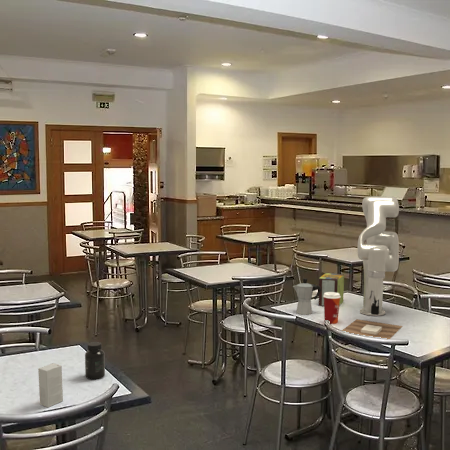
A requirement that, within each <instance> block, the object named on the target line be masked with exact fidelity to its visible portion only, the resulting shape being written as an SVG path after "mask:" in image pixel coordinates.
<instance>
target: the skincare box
mask: <svg viewBox="0 0 450 450" xmlns="http://www.w3.org/2000/svg"><path fill="white" fill-rule="evenodd" d="M37 369H38V386H39V387H38V389H39V390H38V391H39V404H40V406H43V407H45V408H50V407H53V406H55V405H57V404H59V403H61V402H63V401H64V395H63V390H64V389H63V371H62V365H61V364H57V363H54V362H53V363H50V364H47V365H44V366H41V367H39V368H37Z"/></svg>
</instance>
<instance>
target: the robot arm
mask: <svg viewBox="0 0 450 450" xmlns="http://www.w3.org/2000/svg"><path fill="white" fill-rule="evenodd" d="M361 207H362V211H363V215H364V218H365V220H366V228H364V229H363V230H362V232H361V233H360V234H359V237H358V239H357V251H356V252H357V253H356V254H357V258H358V259H359V260H361V261H362V265H363V303H362V305H363V307H362V308H360V309H359V312H360V314H361V315H366V316H371V317H373V316H374V317H379V316H381V317H382V316H384V315H386V311H385V310H384V309H383V296H384V279H386V272H390V273H391V272H396V271H397V270H398V269H399V264H400V263H399V262H400V258H399V254H400V244H399V243H400V242H399V241H400V239H399V235H398V233H397V232H395V231H386V229H387V218H397V217H398V216H399V213H400V204H399V200H398V198H397V197H395V196H377V195H375V196H366V197H364V198H363V199H362V205H361ZM365 242H366V243H365Z"/></svg>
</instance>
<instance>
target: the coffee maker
mask: <svg viewBox="0 0 450 450" xmlns="http://www.w3.org/2000/svg"><path fill="white" fill-rule="evenodd" d="M302 281H303V282H302V283H301V282H300V283H298V284H296V285H293V286H292V288H293V289H294V290H295V292H296V295H297V296H296V297H297V306H296V314H297V315H301V316H309V315H313V309H312V300H311V299H314V300H315V301H316V300H317V298H319V294H320V292H321V291H322V289H321V287H320V286H319V285H316V283H315V284H314V283H313V284H311V283H308V278H306V277H304V278H302ZM317 290H318V292H317V293H316V295H315V296H314V297H313V292H315V291H317ZM312 297H313V298H312Z"/></svg>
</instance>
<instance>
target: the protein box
mask: <svg viewBox="0 0 450 450" xmlns="http://www.w3.org/2000/svg"><path fill="white" fill-rule="evenodd" d="M344 285H345V274H339V273H328V272H326V273H324V274H323V275H321V276H320V277H319V278H318V286H320V287H321V289H322V291H321V292H320V294H319V295H318V307H324V297H323V295H324V293H326V292H336V293H339V294H340V302H339V306H340V305H341V304H343V303H344V290H345V289H344V288H345V287H344Z"/></svg>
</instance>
